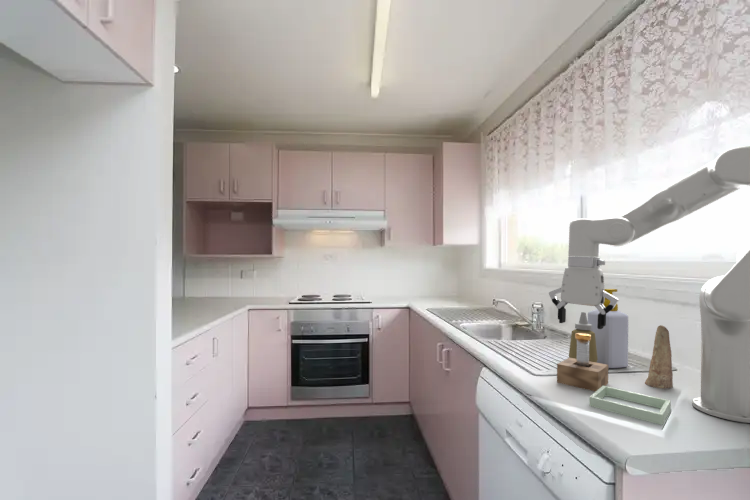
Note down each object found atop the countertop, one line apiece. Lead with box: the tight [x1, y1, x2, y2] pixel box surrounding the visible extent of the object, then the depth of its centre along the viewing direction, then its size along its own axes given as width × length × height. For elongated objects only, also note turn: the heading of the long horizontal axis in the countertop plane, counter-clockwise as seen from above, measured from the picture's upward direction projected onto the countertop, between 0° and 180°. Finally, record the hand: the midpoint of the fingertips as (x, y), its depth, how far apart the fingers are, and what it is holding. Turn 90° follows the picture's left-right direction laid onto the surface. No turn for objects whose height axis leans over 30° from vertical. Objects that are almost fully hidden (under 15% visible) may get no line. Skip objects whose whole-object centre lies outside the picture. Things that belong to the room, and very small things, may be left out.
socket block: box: [556, 357, 609, 393], centre depth 104 cm, size 10×10×6 cm
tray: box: [588, 385, 672, 430], centre depth 87 cm, size 14×12×3 cm
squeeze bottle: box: [568, 312, 598, 363], centre depth 120 cm, size 8×8×18 cm
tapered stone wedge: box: [644, 324, 674, 389], centre depth 102 cm, size 6×18×6 cm
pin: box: [575, 333, 591, 367], centre depth 104 cm, size 4×4×13 cm
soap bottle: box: [587, 288, 629, 369], centre depth 126 cm, size 9×9×25 cm
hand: (580, 325), depth 105 cm, fingers open, 9 cm apart
